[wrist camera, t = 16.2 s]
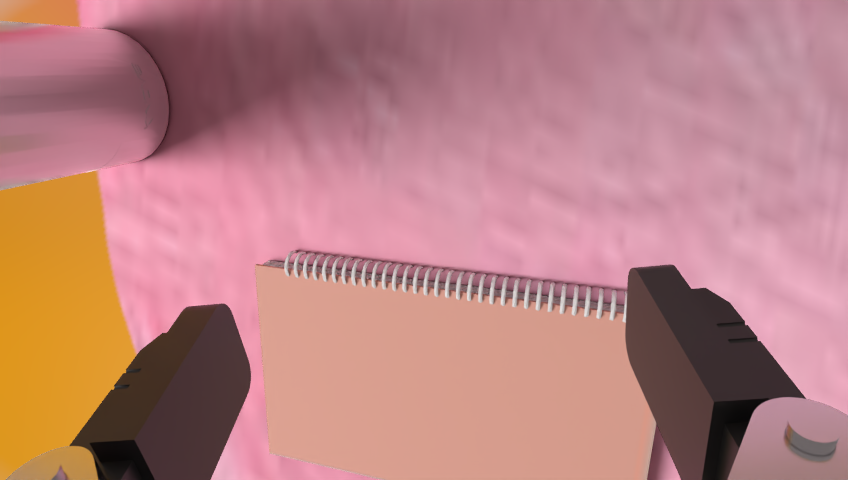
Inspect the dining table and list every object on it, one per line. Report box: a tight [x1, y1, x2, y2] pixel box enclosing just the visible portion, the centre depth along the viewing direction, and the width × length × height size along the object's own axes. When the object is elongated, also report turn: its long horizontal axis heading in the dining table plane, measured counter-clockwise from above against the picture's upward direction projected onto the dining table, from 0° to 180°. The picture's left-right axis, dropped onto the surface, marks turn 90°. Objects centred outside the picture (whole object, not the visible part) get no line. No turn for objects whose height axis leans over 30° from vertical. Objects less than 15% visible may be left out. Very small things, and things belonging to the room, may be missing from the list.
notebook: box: [255, 251, 656, 480], centre depth 38 cm, size 27×17×2 cm, turn 89°
